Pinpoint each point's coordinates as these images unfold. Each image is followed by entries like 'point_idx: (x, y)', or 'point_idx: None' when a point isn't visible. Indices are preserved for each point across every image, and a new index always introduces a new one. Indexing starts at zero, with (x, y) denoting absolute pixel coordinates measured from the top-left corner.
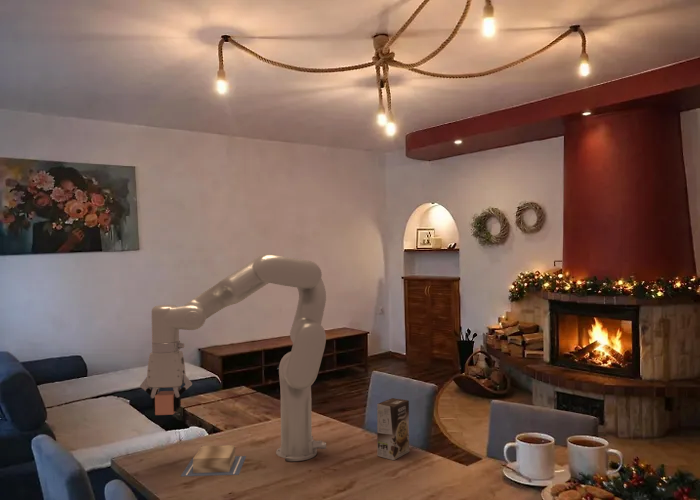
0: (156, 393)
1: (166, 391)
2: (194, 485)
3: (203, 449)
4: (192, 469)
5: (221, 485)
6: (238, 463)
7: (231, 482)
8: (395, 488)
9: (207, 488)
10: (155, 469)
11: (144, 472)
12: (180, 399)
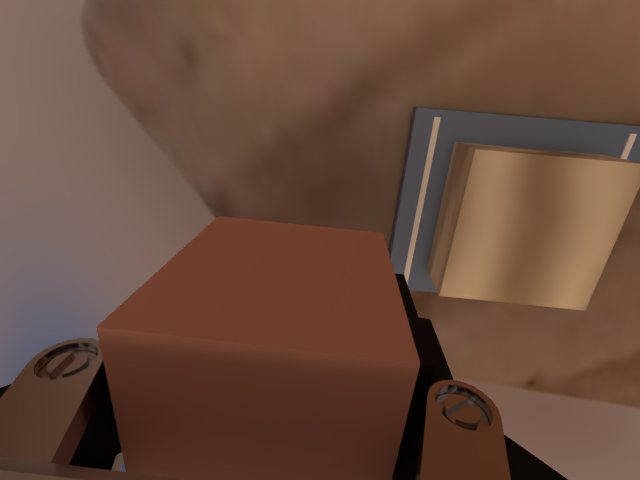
0: (93, 416)
1: (218, 360)
2: None
3: (484, 198)
4: (422, 239)
5: (511, 337)
6: None
7: (544, 324)
8: None
9: (469, 348)
10: (279, 178)
11: (248, 200)
12: (445, 368)
